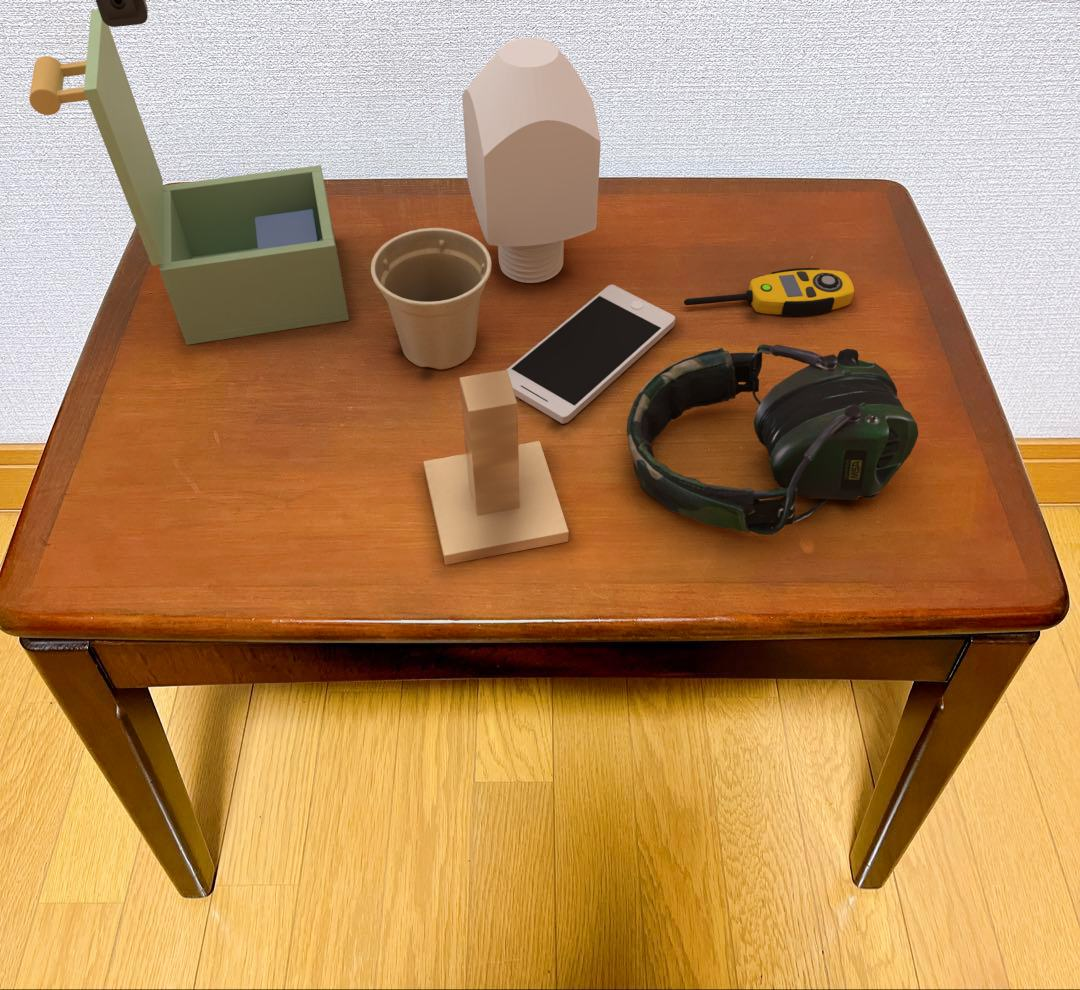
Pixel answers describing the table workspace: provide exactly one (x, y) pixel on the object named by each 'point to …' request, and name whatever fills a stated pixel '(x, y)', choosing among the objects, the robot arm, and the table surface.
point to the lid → (110, 125)
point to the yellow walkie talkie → (793, 292)
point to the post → (493, 481)
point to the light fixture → (531, 156)
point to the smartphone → (588, 352)
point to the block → (286, 229)
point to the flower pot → (433, 292)
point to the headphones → (778, 434)
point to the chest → (248, 257)
